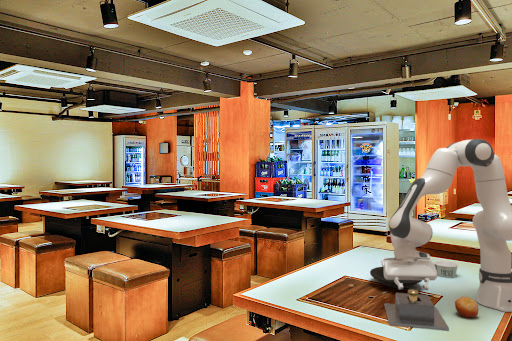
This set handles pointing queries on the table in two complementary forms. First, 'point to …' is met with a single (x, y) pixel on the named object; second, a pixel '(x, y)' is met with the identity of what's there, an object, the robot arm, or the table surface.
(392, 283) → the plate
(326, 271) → the table surface
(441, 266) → the food container
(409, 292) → the pin
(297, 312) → the table surface
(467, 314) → the fruit
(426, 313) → the block
